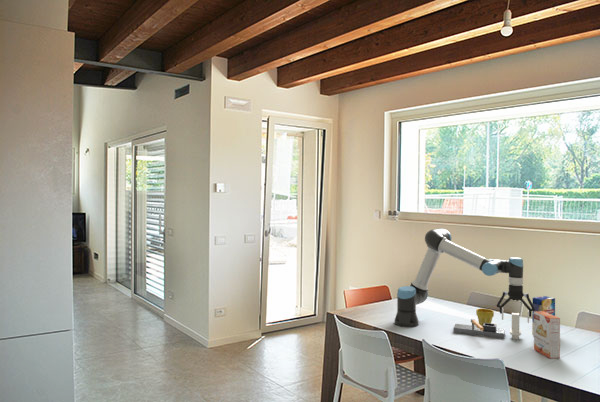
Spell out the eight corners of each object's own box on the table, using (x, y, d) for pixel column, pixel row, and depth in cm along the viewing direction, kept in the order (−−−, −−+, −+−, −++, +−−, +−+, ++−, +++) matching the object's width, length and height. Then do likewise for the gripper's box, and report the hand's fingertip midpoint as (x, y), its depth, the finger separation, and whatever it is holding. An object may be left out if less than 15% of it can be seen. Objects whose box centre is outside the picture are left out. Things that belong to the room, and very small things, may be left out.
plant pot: (495, 328, 292) (495, 312, 292) (477, 327, 294) (477, 311, 294) (491, 323, 302) (492, 308, 302) (475, 323, 304) (475, 308, 304)
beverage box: (555, 335, 278) (555, 298, 278) (542, 337, 273) (542, 300, 273) (544, 332, 284) (544, 296, 284) (532, 334, 279) (532, 297, 279)
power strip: (453, 332, 283) (453, 322, 283) (455, 328, 292) (455, 318, 292) (503, 338, 271) (504, 328, 271) (504, 334, 280) (504, 324, 280)
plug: (509, 339, 269) (509, 315, 269) (509, 335, 276) (510, 312, 276) (521, 341, 266) (521, 316, 266) (521, 337, 274) (521, 313, 274)
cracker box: (533, 349, 251) (533, 311, 251) (543, 349, 252) (544, 310, 251) (549, 358, 237) (549, 317, 237) (560, 358, 238) (560, 317, 237)
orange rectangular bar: (470, 328, 280) (470, 319, 280) (474, 328, 280) (474, 319, 280) (479, 337, 262) (479, 327, 262) (484, 337, 262) (484, 327, 262)
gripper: (539, 285, 270) (539, 321, 271) (493, 281, 281) (492, 316, 281) (540, 287, 263) (539, 325, 264) (492, 283, 274) (491, 319, 275)
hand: (515, 320), depth 273 cm, fingers open, 13 cm apart
